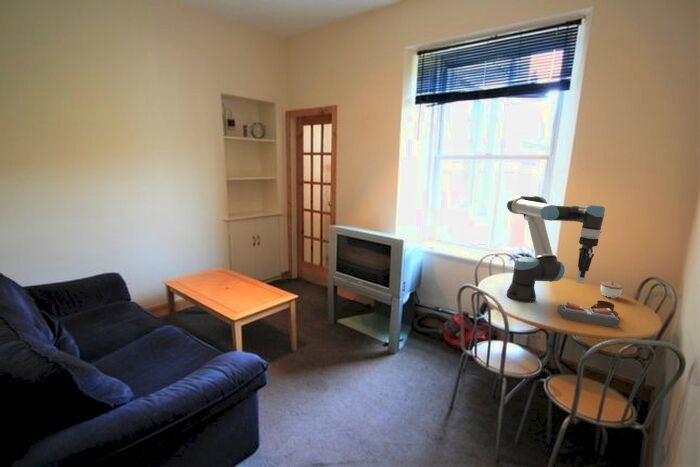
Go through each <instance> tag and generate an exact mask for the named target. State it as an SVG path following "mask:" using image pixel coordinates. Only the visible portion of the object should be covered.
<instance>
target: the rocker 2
mask: <svg viewBox="0 0 700 467" xmlns="http://www.w3.org/2000/svg"><path fill="white" fill-rule="evenodd" d="M593 311H594V312H595V313H599V314H601V313H612V310H611V309H610V308H594V309H593Z"/></svg>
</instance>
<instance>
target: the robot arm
mask: <svg viewBox="0 0 700 467" xmlns="http://www.w3.org/2000/svg"><path fill="white" fill-rule="evenodd" d="M506 208H507V210H508V211H509V212H510V213H512V214H516V215H523V219H524V220H525V221H526V222H527V225H528V229H529V232H530V236H531V241H532V246H533V249H534V253H535V257H532V256H520V257H517V258H516V259H515V263H514V266H513V274H512V279H511V283H510V285H509V286H508V288H507V290H506V296H507V298H510V299H511V300H514V301H518V302H521V303H534V302H536V299H537V295H536V288H535V284H536V282H549V283H550V282H558V281H560V280H561V279H562V278H563V277H564V275H565V269H566V268H565V265H564V263H563V262H562V261H559V260H558V258H557V256H556V255H555V254H553V251H552V246H551V243H550V239H549V236H548V231H547V228H546V223H545V221H557V222H558V221H559V222H560V221H561V222H575V223H581V224H582V226H581V230H580V237H579V241H578V243H579V245H581V247H579V249H578V250H579V252H578V262H577V267H578V272H577V276H576V283H577V284H584V283H585V278H586V274H587V272H589V270H590V267H591V263H592V260H593V258H594V256H595V254H594V253H593V252H594V251H593V248H595V247H598V244H599V238H600V235H601V234H602V231H601V230H602V226H603V221H604V217H605V211H606V208H605V206H602V205H597V204H596V205H595V204H588V205H586V206H585V207H582V206H579V205H570V206H566V205H565V206H564V205H554V204H548V202H547V200H546V199H545V198H544V197H542V196H539V195H523V194H522V195H521V194H519V195H514V196H511V197H510V198H509V199H508V200H507V202H506Z"/></svg>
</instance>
